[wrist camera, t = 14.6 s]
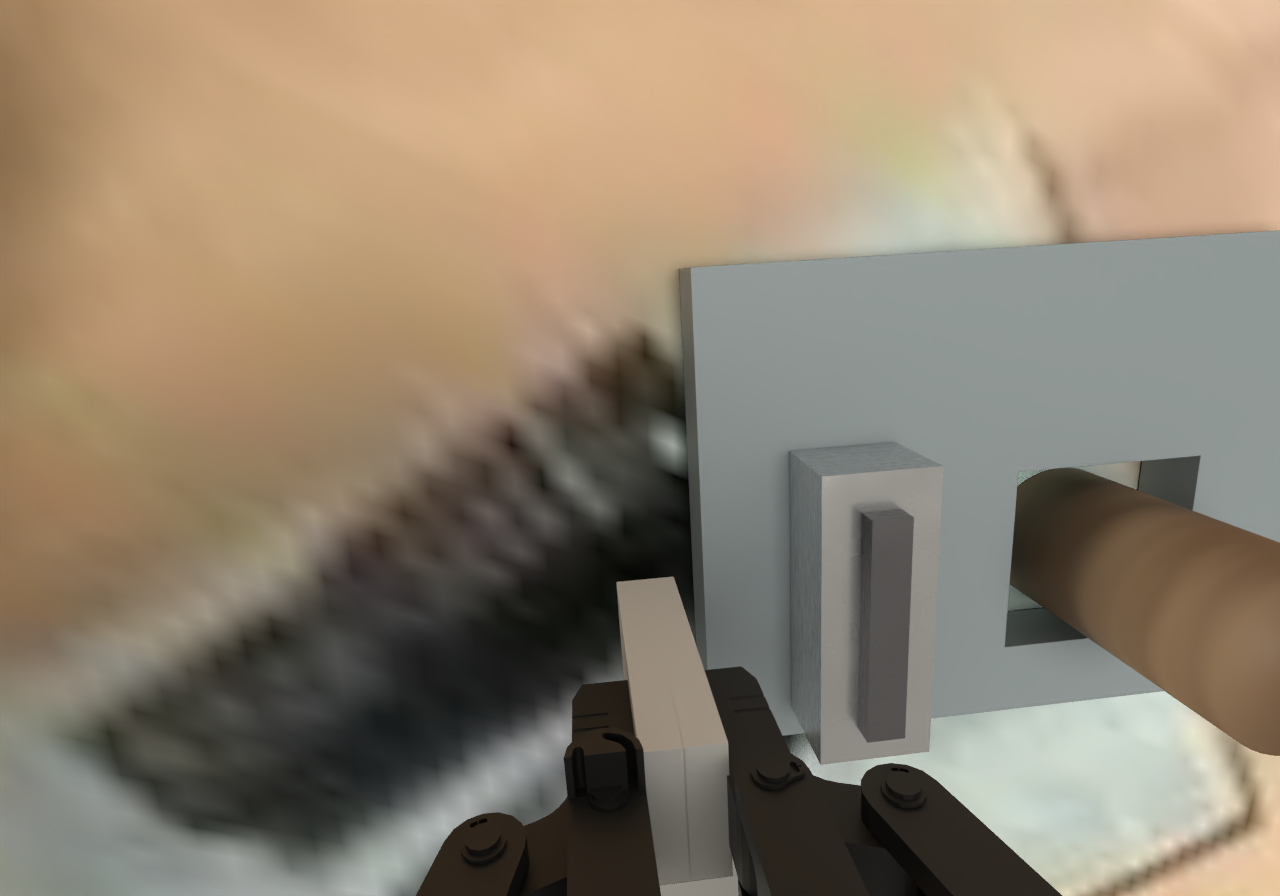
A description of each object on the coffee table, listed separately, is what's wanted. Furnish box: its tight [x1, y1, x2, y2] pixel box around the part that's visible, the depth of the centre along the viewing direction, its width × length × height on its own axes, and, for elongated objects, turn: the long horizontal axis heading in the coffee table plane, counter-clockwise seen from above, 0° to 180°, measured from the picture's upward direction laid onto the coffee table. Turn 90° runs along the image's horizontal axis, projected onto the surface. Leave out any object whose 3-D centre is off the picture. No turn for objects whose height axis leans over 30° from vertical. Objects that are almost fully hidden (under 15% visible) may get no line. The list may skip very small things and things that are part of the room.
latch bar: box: [789, 442, 943, 764], centre depth 18 cm, size 3×8×3 cm, turn 4°
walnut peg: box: [1010, 468, 1280, 756], centre depth 18 cm, size 4×4×8 cm
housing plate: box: [679, 231, 1280, 736], centre depth 20 cm, size 18×14×2 cm
